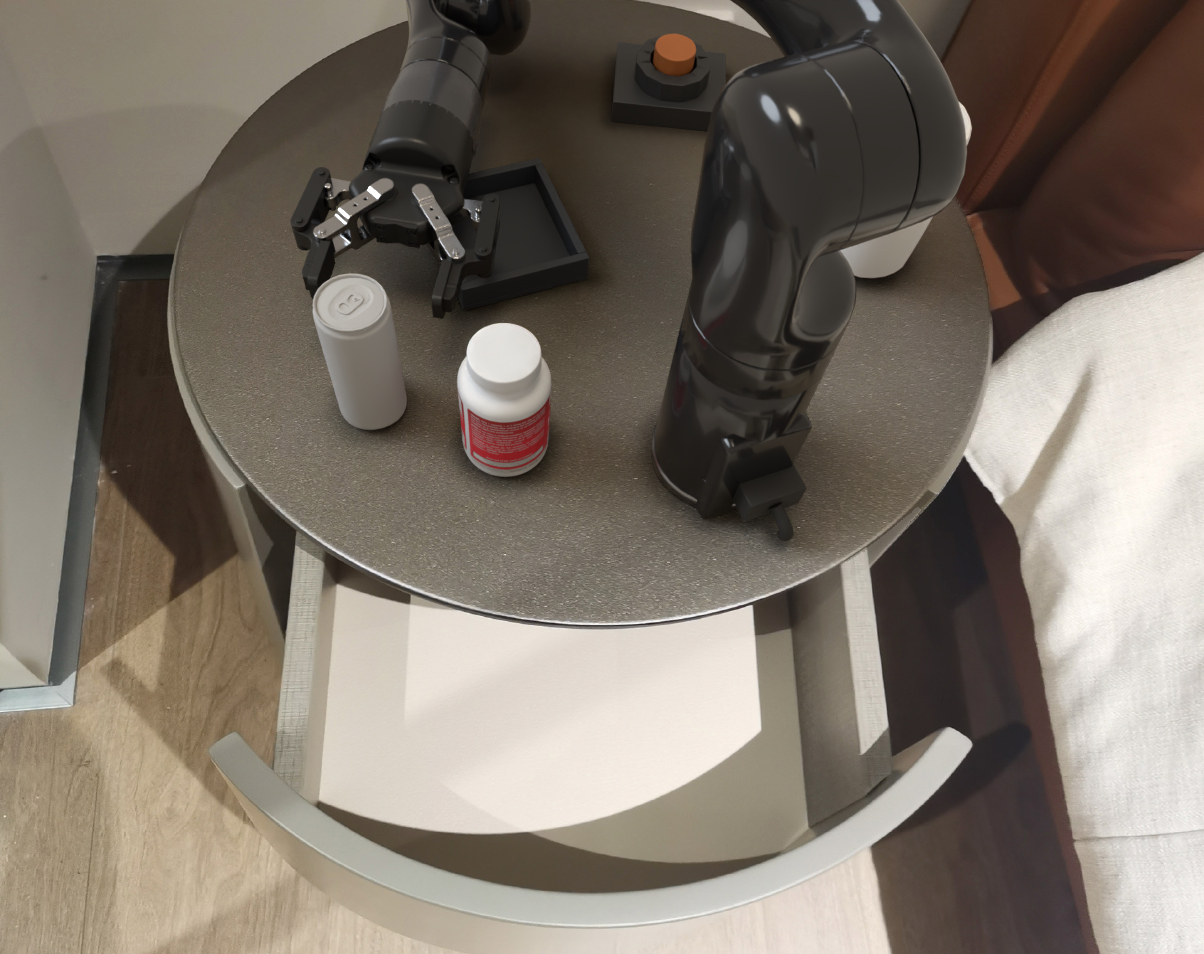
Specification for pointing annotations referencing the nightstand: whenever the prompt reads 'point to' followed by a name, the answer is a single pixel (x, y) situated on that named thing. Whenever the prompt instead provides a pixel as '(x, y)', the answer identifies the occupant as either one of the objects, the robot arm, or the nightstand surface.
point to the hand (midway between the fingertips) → (375, 301)
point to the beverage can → (360, 350)
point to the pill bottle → (504, 400)
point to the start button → (674, 55)
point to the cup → (891, 242)
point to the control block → (665, 88)
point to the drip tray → (522, 236)
